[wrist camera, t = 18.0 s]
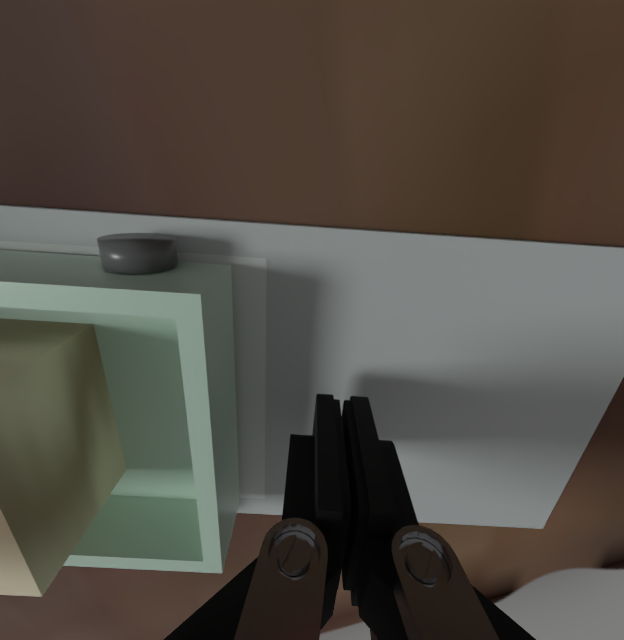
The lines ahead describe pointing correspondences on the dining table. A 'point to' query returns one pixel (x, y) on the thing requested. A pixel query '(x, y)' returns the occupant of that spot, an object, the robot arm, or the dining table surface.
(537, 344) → the track
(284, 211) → the dining table surface
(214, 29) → the dining table surface
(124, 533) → the cart
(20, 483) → the beige square block
